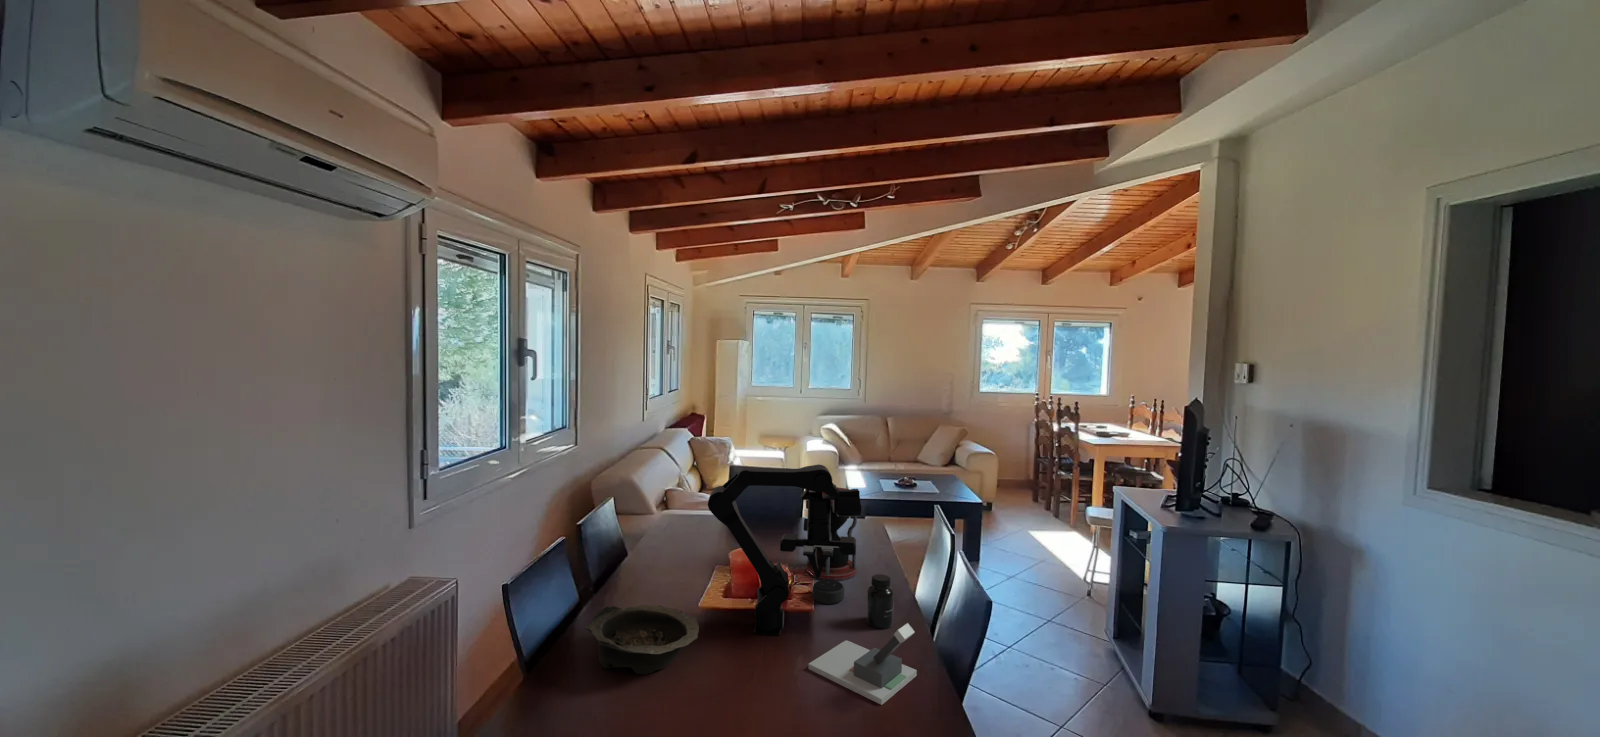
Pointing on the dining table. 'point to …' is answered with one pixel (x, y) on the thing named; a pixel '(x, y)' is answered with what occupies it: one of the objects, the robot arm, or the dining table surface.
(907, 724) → the dining table surface
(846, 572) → the hourglass
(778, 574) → the robot arm
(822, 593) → the smart speaker
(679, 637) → the stone bowl
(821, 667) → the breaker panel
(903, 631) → the breaker lever
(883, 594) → the supplement bottle
